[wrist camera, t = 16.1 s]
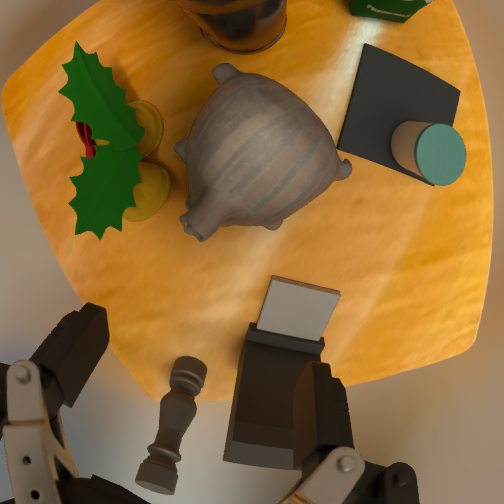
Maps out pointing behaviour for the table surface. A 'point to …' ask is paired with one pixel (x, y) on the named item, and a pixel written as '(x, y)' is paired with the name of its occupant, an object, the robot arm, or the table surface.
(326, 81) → the table surface
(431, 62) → the table surface
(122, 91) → the ornament
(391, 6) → the fresh milk carton
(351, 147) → the mat
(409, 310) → the table surface
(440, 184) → the container
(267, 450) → the coffee maker
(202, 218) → the piggy bank
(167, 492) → the candle holder
